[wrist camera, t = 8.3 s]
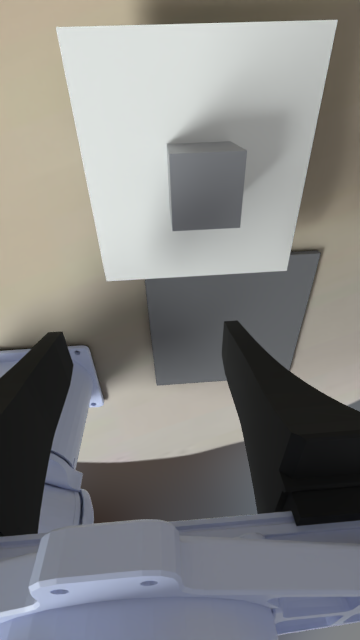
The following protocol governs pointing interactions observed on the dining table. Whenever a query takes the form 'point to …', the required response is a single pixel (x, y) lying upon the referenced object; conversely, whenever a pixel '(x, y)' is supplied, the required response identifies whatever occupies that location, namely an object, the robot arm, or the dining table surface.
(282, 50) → the lid
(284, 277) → the mat
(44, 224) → the dining table surface
